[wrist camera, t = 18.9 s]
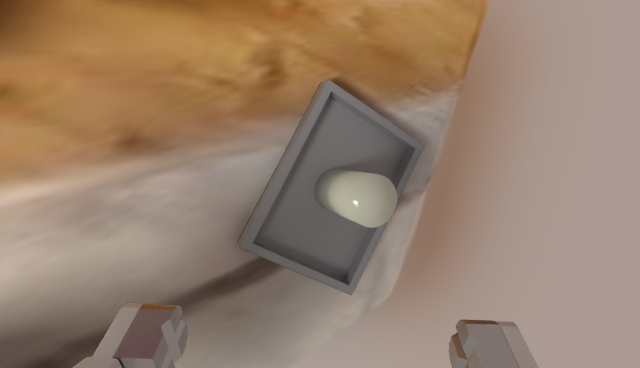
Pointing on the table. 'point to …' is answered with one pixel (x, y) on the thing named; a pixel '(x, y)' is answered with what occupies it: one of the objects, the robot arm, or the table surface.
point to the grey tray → (299, 189)
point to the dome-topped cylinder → (357, 196)
